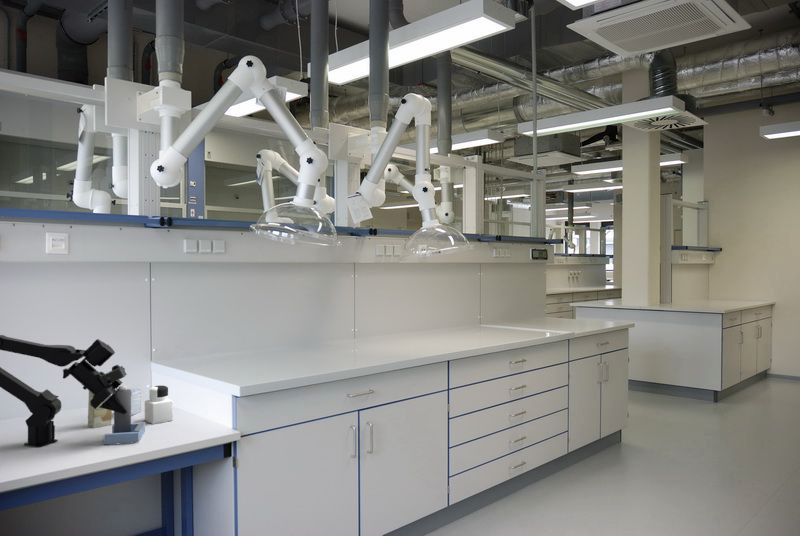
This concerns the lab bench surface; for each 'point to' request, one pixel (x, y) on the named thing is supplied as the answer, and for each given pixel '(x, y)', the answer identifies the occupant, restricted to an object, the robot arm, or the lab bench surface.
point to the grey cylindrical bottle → (121, 420)
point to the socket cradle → (126, 434)
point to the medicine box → (135, 401)
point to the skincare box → (98, 415)
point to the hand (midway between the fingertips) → (127, 410)
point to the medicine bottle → (158, 405)
